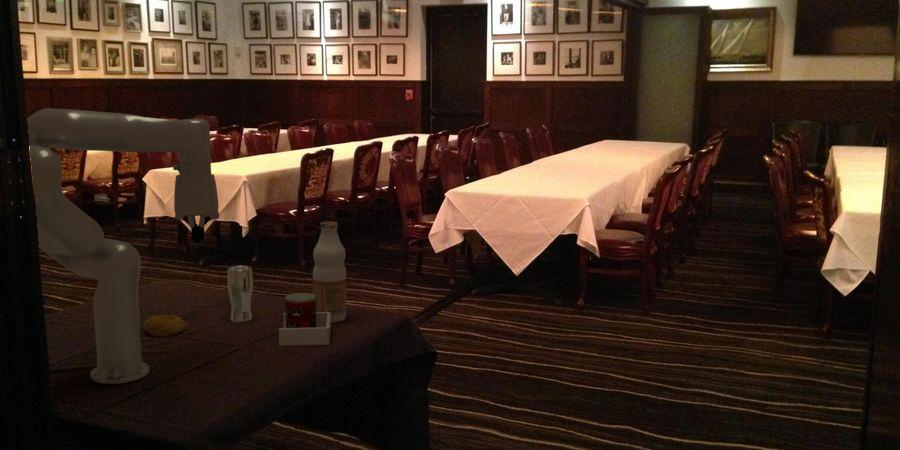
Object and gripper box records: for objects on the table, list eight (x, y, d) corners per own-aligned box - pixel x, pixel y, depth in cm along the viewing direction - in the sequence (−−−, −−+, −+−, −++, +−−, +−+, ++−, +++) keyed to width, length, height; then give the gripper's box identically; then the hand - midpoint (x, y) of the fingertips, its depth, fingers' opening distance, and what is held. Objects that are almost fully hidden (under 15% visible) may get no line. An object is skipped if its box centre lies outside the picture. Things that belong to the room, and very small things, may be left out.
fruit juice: (306, 320, 233) (305, 224, 228) (324, 312, 241) (323, 218, 236) (335, 325, 229) (334, 227, 224) (352, 316, 238) (352, 221, 232)
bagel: (190, 334, 220) (189, 317, 219) (147, 340, 214) (146, 322, 214) (183, 324, 228) (182, 307, 227) (141, 329, 223) (140, 312, 222)
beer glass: (257, 316, 236) (255, 265, 233) (249, 323, 229) (247, 271, 227) (233, 315, 237) (232, 264, 234) (225, 322, 230) (223, 270, 227)
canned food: (281, 334, 220) (280, 295, 218) (309, 330, 225) (308, 291, 222) (292, 342, 214) (292, 302, 212) (321, 337, 218) (320, 297, 216)
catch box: (329, 344, 213) (329, 328, 212) (279, 345, 211) (278, 329, 211) (330, 327, 227) (330, 312, 226) (283, 328, 226) (283, 312, 225)
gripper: (160, 171, 198) (164, 245, 201) (224, 171, 200) (226, 245, 203) (167, 167, 205) (170, 239, 209) (228, 167, 207) (230, 238, 210)
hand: (198, 241), depth 206 cm, fingers closed
